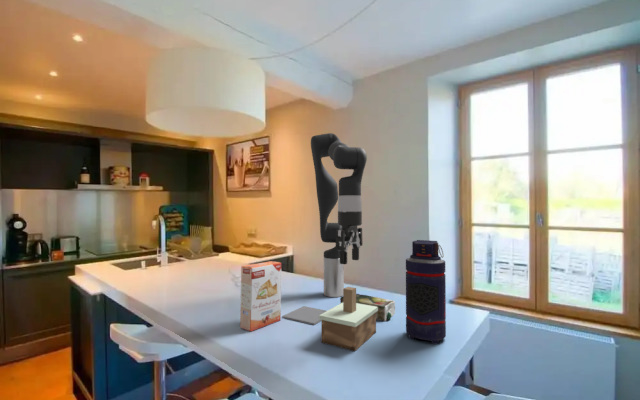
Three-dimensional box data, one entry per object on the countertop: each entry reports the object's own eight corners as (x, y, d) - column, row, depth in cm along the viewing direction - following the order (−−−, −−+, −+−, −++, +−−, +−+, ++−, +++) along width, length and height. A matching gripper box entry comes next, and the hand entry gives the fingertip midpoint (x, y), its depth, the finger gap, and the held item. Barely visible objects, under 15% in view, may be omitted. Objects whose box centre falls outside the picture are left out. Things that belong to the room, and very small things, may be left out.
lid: (345, 306, 111) (345, 280, 111) (377, 312, 105) (377, 285, 105) (319, 321, 97) (319, 291, 97) (355, 329, 90) (355, 297, 91)
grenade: (442, 347, 93) (442, 243, 94) (401, 339, 99) (401, 241, 100) (449, 331, 105) (448, 239, 106) (412, 325, 111) (412, 238, 112)
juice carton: (398, 314, 122) (397, 298, 122) (388, 322, 114) (387, 305, 114) (351, 306, 134) (351, 291, 134) (339, 313, 125) (339, 297, 126)
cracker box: (251, 332, 104) (251, 267, 105) (239, 328, 108) (240, 265, 108) (282, 320, 115) (282, 262, 116) (270, 317, 119) (270, 260, 119)
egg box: (345, 325, 110) (345, 305, 110) (375, 332, 105) (375, 310, 105) (321, 342, 97) (321, 319, 97) (354, 351, 91) (354, 326, 91)
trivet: (303, 307, 130) (303, 306, 130) (334, 313, 123) (334, 312, 123) (282, 317, 118) (282, 316, 118) (314, 325, 111) (314, 323, 111)
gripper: (349, 210, 110) (349, 258, 109) (328, 210, 97) (328, 264, 97) (369, 210, 106) (369, 260, 105) (350, 210, 93) (350, 266, 93)
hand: (349, 262), depth 101 cm, fingers open, 8 cm apart
